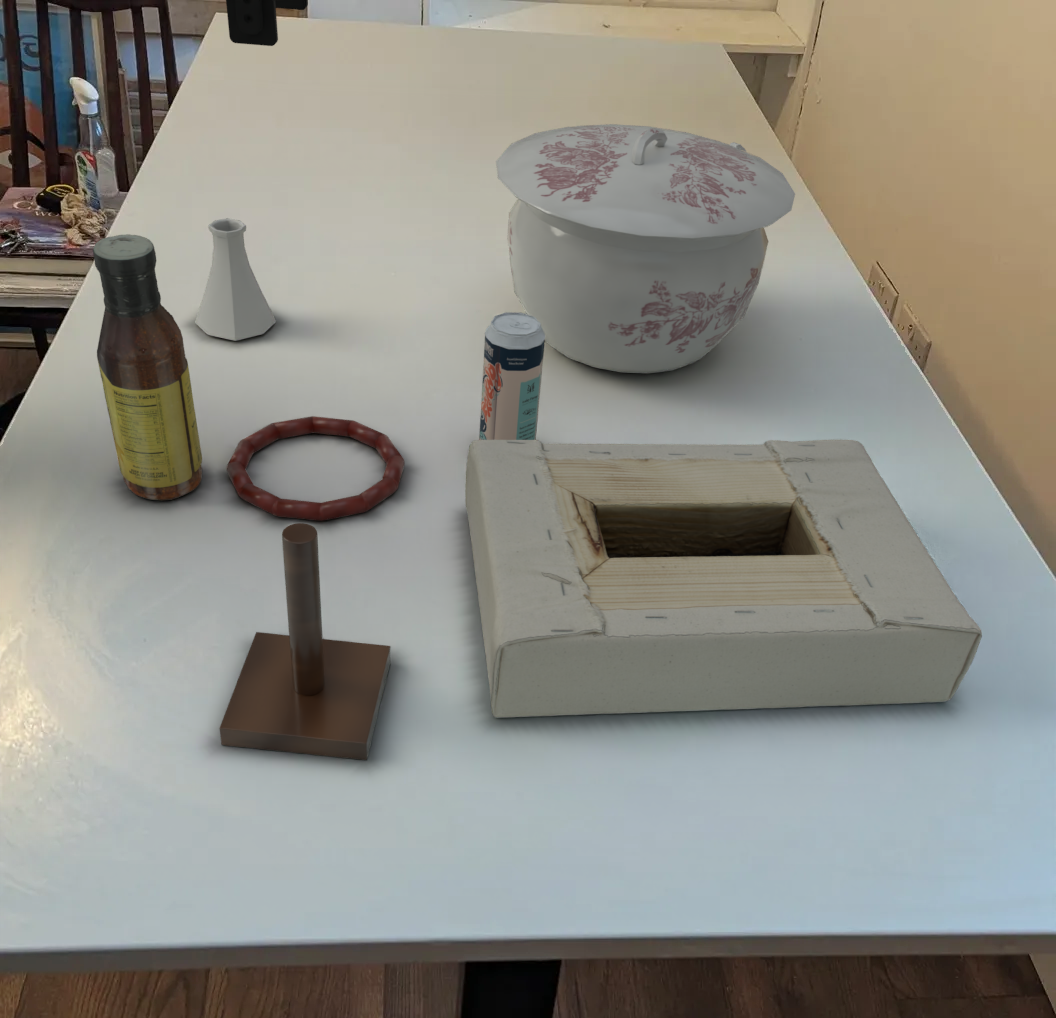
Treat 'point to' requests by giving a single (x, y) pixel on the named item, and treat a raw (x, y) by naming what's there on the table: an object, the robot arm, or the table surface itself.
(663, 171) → the chamber pot
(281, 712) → the post
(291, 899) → the table surface
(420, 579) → the table surface
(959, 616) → the box
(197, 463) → the sauce bottle
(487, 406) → the beer can
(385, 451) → the ring
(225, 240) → the flask
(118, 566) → the table surface
